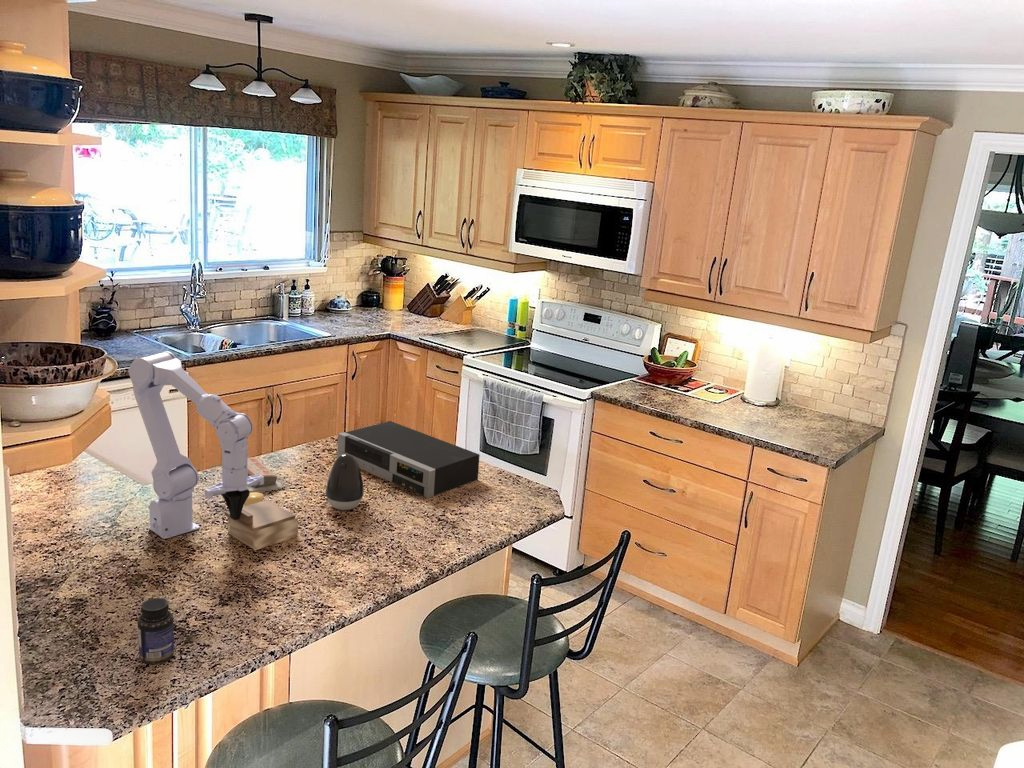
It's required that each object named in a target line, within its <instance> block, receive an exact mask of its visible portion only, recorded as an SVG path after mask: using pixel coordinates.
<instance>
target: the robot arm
mask: <svg viewBox="0 0 1024 768" xmlns="http://www.w3.org/2000/svg"><path fill="white" fill-rule="evenodd" d="M127 372H128V375H129V377H130V380H131V383H132V388H133V389H132V390H133V395H134V399H135V401H136V404H137V407H138V409H139V412H140V415H141V419H142V422H143V424H144V427H145V430H146V433H147V435H148V439H149V441H150V445H151V447H152V450H153V453H154V456H155V458H156V463H155V464H154V467H153V468H152V471H151V476H152V479H153V480H152V487H153V490H154V493H155V495H157V496H158V497H157V498H155V499H153V500H151V501H150V503H149V526H148V529H149V530H150V531H151V532H154V534H156V535H158V536H159V537H160V538H161V539H165V540H166V539H169V538H173V537H177V536H180V535H182V534H186V533H189V532H192V531H193V532H194V531H196V530H199V529H200V528H201V527H200V525H199V524H198V523H197V524H196V523H195V522H194V521H193V493H194V491H195V487H196V486H197V485H198V483H199V481H200V478H199V477H200V476H199V472H198V471H197V469H196V468H195V466H194V465H193V463H192V460H191V458H189V457H188V456H185V455H184V454H182V453H181V452H180V448H179V445H178V443H177V439H176V437H175V433H174V432H173V428H172V425H171V423H170V422H171V421H170V420H169V417H168V414H167V410H166V408H165V404H164V402H163V400H162V396H161V392H162V390H163V388H164V387H165V386H171V387H173V388H175V389H176V390H177V391H178V392H179V393H181V394H182V395H183V396H185V397H186V398H187V399H189V400H190V401H191V402H192V403H194V404H195V405H196V406H195V407H196V413H197V414H198V415H200V416H201V417H202V418H203V419H204V420H205V421H206V422H207V423H209V424H210V425H211V426H212V427H213V428H214V429H215V434H216V436H217V438H218V440H219V443H220V445H219V446H220V448H221V467H222V468H221V473H222V474H221V481H220V482H218V483H215V484H213V485H211V486H209V487H206V488H204V497H205V498H207V499H209V500H210V499H213V498H214V497H217V496H220V495H221V496H222V498H223V500H224V501H225V505H226V506H227V509H228V511H229V513H230V517H231V518H232V519H234V520H237V519H240V515H241V512H242V508H243V507H244V503H245V501H246V500H247V498H248V497H249V495H250V491H249V490H247V487H250V486H254V485H258V484H259V485H263V484H264V477H263V476H261V475H255V476H248V457H249V456H248V449H249V448H248V447H249V445H248V444H249V443H248V437H249V436H250V435H251V434H252V432H253V429H254V428H253V422H252V420H251V418H250V417H249V416H248V415H247V414H246V413H242V412H237V411H235V410H233V409H232V408H231V407H230V406H229V405H227V404H226V403H225V402H224V401H223V399H222V398H221V396H219V395H216V394H214V393H206V391H205V390H204V389H203V388H202V386H200V385H199V384H198V383H197V382H196V381H195V380H194V378H193V377H191V375H190V374H188V373H187V371H185V370H184V369H183V366H182V361H181V360H180V359H179V358H177V357H176V356H175V354H174V353H172V352H171V351H167V350H166V351H165V350H164V351H161V352H160V353H159V352H158V353H155V354H151V355H148V356H144V357H137V358H135V359H133V361H132V363H131V365H130V366H129V368H128V370H127Z"/></svg>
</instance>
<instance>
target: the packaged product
mask: <svg viewBox="0 0 1024 768" xmlns="http://www.w3.org/2000/svg"><path fill="white" fill-rule="evenodd" d="M255 475H261V476H263V477H264V484H263V485H259V484H258V485H254V486H250V487H247V490H249V491H250V493H252V492H258V493H260V492H262V493H266V492H265V491H268V492H272V490H273V491H278V489H280V490H283V489H284V487H285V486H284V485H283V484H282V483H281V482H279V480H278V477H277V476H276V474H275V473H273V472H272V471H271V470H270V469H269V468H268V467H267V466H265V464H264V463H263V462H261V461H260V460H259V458H257V457H254V456H248V476H255ZM282 488H283V489H282Z"/></svg>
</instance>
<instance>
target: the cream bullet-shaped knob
mask: <svg viewBox="0 0 1024 768" xmlns="http://www.w3.org/2000/svg"><path fill="white" fill-rule="evenodd" d="M262 501H264V494H263V493H258V492H252V493H250V495H249V497H248V498H247V500H246V501H245V503H244V506H248V505H251V504H255V503H258V502H262ZM244 506H243V507H244Z"/></svg>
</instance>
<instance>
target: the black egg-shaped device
mask: <svg viewBox="0 0 1024 768" xmlns="http://www.w3.org/2000/svg"><path fill="white" fill-rule="evenodd" d="M329 471H330V472H329V475H328V476H327V477H328V478H327V481H326V487H325V497H326V498H327V501H328V504H330V506H331V507H333V508H334V509H336V510H340V511H350V510H353V509H355V508H356V507H358V506H359V504H360V503H361V502H362V499H363V497H364V496H365V495H364V494H365V493H364V492H365V489H364V480H363V476H362V472H361V469H360V468H359V465H358V463H357V461H356V459H355V458H354V457H353V456H352V455H350V454H342V455H340V456H338V457H336V459H335V460H334V461H333V464H332V466H331V468H330V470H329Z"/></svg>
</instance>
